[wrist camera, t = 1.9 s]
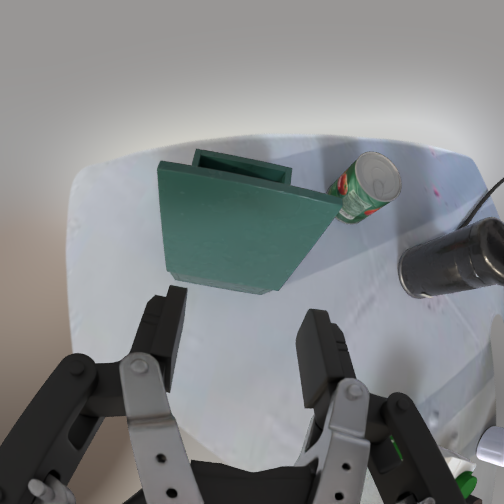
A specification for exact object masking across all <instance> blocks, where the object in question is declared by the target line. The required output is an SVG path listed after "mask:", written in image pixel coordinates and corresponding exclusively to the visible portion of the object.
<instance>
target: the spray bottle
mask: <svg viewBox="0 0 504 504" xmlns="http://www.w3.org/2000/svg"><path fill="white" fill-rule="evenodd" d="M477 457H478V459H480V460H483V461H486V462H489V463H492V464H496V465H499V466H502V467H504V428H503V427H497V426H492V427H490V428H489V429H487V430H486V432H485V433H484V434H483V436H482V438H481V439H480V442H479V444H478V447H477Z"/></svg>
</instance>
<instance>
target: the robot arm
mask: <svg viewBox="0 0 504 504" xmlns="http://www.w3.org/2000/svg"><path fill="white" fill-rule="evenodd" d="M503 182H504V178H503V179H502V180H500V181H499V182H498V183H497V184H496V185H495V186H494V187H493V188H492V189H491V190H490V191H489V192H488V193H487V194H486V195H485V197H484V198H483V199H482V200H481V201H480V203H479V204H478V205H477V206H476V208H475V209H474V210H473V212H472V213H471V215H470V216H469V217H468V219H467V220H466V221H465V222H464V224H463V225H462V226H461V227H460V228H459V229H458V230H456V231H454V232H451V233H449V234H447V235H444V236H442V237H439V238H437V239H434V240H432V241H429V242H427V243H424V244H421V245H419V246H416V247H412V248H409V249H408V250H406V251H405V252H404V253H403V255H402V256H401V259H400V262H399V268H398V273H399V279H400V282H401V285H402V287H403V289H404V290H405V291H406V293H407V294H409V295H410V296H411V297H413V298H417V299H421V298H426V297H428V298H434V297H431V296H437V295H443V294H449V293H454V292H460V291H466V290H471V289H476V288H481V287H486V286H491V285H496V284H497V285H500V286H504V223H503V222H502V221H501V220H499V219H497V218H495V217H488V218H485V219H482V220H480V221H478V222H475V223H473V224H471V225H468V224H469V222H470V221H471V219H472V218H473V217H474V215H475V214H476V212H477V211H478V210H479V208H480V207H481V206H482V204H483V203H484V202H485V201H486V199H487V198H488V197H489V196H490V195H491V194H492V193H493V192H494V190H495V189H496V188H497V187H498V186H500V184H502V183H503ZM467 225H468V226H467ZM187 290H188V288H183V287H178V286H173V285H170V286H169V289H168V293H167V296H166V297H163V296H158V295H155V296H154V297H153V298H152V299H151V300H149V301H148V302H147V305H146V308H145V310H144V314H143V316H142V319H141V322H140V324H139V327H138V330H137V333H136V336H135V339H134V342H133V345H132V348H131V351H130V352H129V354H128V355H127V356H125V357H124V358H123V359H122V360H120V361H118V362H114V363H95V362H94V361H93V360H92V359H91V358H90V357H89V356H87V355H85V354H80V353H75V354H71V355H68V356H67V357H65V358H64V359H63V360H62V361H61V362H60V364H59V365H58V366H57V367H56V369H55V370H54V371H53V373H52V374H51V375H50V376H49V378H48V379H47V380H46V382H45V383H44V384H43V386H42V387H41V388H40V390H39V391H38V393H37V394H36V395H35V397H34V398H33V399H32V401H31V402H30V404H29V405H28V406H27V408H26V409H25V411H24V412H23V413H22V415H21V416H20V418H19V419H18V421H17V422H16V424H15V425H14V426H13V428H12V430H11V431H10V433H9V434H8V436H7V437H6V438H5V440H4V442H3V443H2V445H1V446H0V504H76V500H75V497H74V494H73V493H72V491H71V490H70V489H69V488H68V487H67V485H68V482H69V481H70V479H71V477H72V475H73V473H74V472H75V470H76V468H77V466H78V464H79V462H80V461H81V459H82V457H83V455H84V454H85V452H86V450H87V448H88V446H89V445H90V443H91V441H92V439H93V438H94V436H95V434H96V432H97V430H98V429H99V427H100V425H101V424H102V422H103V420H104V418H105V417H114V416H127V424H128V429H129V434H130V439H131V444H132V449H133V453H134V457H135V462H136V465H137V470H138V473H139V477H140V481H141V485H142V489H140V490H139V491H138V492H137V493H135V494H134V495H133V496H132V497H130V498H129V499H128V500H127V501H125V502H124V503H123V504H360V500H361V496H362V491H363V486H364V481H365V476H366V470H367V466H368V469H369V471H370V473H371V475H372V478H373V480H374V482H375V484H376V487H377V489H378V491H379V493H380V496H381V498H382V500H383V502H384V504H467V503H466V501H465V498H464V496H463V494H462V492H461V490H460V488H459V486H458V484H457V482H456V480H455V478H454V476H453V474H452V472H451V470H450V468H449V466H448V465H447V463H446V461H445V459H444V457H443V455H442V453H441V451H440V449H439V448H438V446H437V444H436V442H435V440H434V438H433V436H432V435H431V433H430V431H429V429H428V427H427V426H426V424H425V422H424V420H423V418H422V417H421V415H420V413H419V411H418V410H417V408H416V406H415V404H414V403H413V401H412V400H411V399H410V397H408V396H407V395H406V394H404V393H400V392H395V393H392V394H391V395H390V396H389V397H388V398H384V397H381V396H377V395H374V394H371V393H369V391H368V389H367V387H366V386H365V385H364V384H363V383H362V382H361V381H359V380H357V379H356V376H355V372H354V369H353V365H352V362H351V358H350V355H349V352H348V348H347V345H346V344H345V338H344V335H343V332H342V331H341V330H340V328H339V327H338V326H337V324H335V323H331V322H330V318H329V315H328V312H327V311H325V310H317V309H309V310H308V311H307V314H306V316H305V318H304V320H303V322H302V324H301V327H300V329H299V331H298V333H297V337H296V351H297V357H298V364H299V371H300V378H301V385H302V392H303V399H304V406H305V408H314V413H315V414H314V415H313V417H312V418H311V421H310V424H309V427H308V431H307V434H306V437H305V441H304V444H303V447H302V450H301V453H300V456H299V458H298V459H297V461H296V463H295V464H294V466H287V467H278V468H274V469H269V470H265V471H260V472H248V471H245V470H241V469H238V468H234V467H231V466H228V465H224V464H222V463H212V462H203V461H195V460H191V463H189V460H188V457H187V454H186V451H185V448H184V445H183V442H182V438H181V435H180V432H179V428H178V425H177V422H176V419H175V417H174V416H173V415H172V413H171V410H170V406H169V402H168V399H167V395H166V392H168V393H170V390H171V384H172V379H173V374H174V368H175V363H176V358H177V353H178V348H179V343H180V338H181V333H182V328H183V323H184V316H185V307H186V299H187ZM391 435H392V437H393V439H394V441H395V443H396V445H397V447H398V449H399V451H400V453H401V455H402V461H401V459H400V457H399V455H398V453H397V451H396V449H395V447H394V445H393V443H392V441H391V439H390V436H391Z"/></svg>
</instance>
